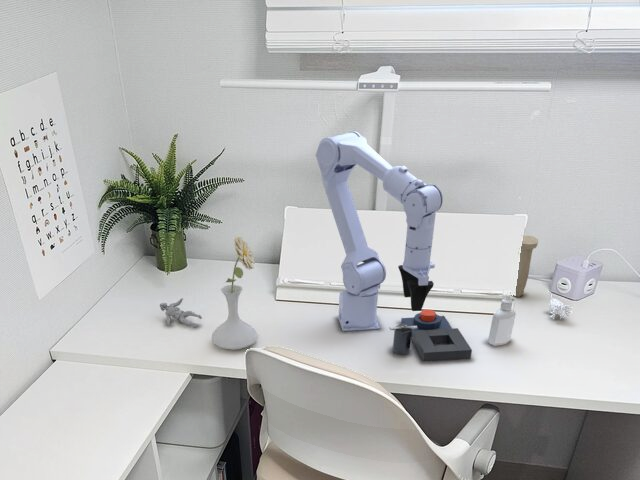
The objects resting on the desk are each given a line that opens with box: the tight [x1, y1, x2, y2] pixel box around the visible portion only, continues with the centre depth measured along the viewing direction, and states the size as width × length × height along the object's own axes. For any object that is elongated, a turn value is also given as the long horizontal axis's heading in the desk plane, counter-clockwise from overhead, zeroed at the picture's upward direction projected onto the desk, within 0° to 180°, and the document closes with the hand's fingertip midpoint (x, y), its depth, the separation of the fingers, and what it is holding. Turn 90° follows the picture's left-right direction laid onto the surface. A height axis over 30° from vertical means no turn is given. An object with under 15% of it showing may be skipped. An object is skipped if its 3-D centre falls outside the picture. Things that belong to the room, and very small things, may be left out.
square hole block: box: [411, 327, 473, 363], centre depth 160 cm, size 11×11×2 cm
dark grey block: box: [389, 324, 417, 356], centre depth 158 cm, size 6×4×7 cm, turn 95°
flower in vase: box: [210, 235, 259, 350], centre depth 158 cm, size 13×11×25 cm
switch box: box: [400, 312, 453, 338], centre depth 169 cm, size 11×8×3 cm
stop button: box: [420, 309, 437, 322], centre depth 167 cm, size 4×4×2 cm
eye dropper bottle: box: [487, 293, 517, 347], centre depth 160 cm, size 4×6×12 cm
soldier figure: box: [159, 297, 203, 328], centre depth 174 cm, size 8×5×12 cm
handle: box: [516, 235, 539, 298], centre depth 180 cm, size 5×6×15 cm
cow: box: [548, 290, 573, 320], centre depth 173 cm, size 12×5×5 cm, turn 179°
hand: (412, 303), depth 157 cm, fingers open, 7 cm apart
